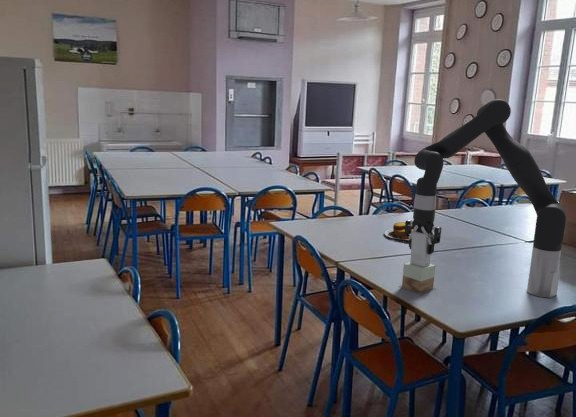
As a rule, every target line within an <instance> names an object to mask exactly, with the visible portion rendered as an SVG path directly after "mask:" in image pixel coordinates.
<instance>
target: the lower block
mask: <svg viewBox="0 0 576 417" xmlns="http://www.w3.org/2000/svg"><path fill="white" fill-rule="evenodd" d="M401 280H402V281H401V282H402V283H401V286H402V287H403V288H406V289H409V290H412V291H415V292H418V293H423V292H425V291H428V290H431V289H433V288H434V282H435V276H434V277H433V278H430V279H427V280H424V281H418V280H415V279H412V278H409V277H406V276H403V275H402V279H401ZM403 288H402V289H403Z"/></svg>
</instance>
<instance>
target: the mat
mask: <svg viewBox="0 0 576 417" xmlns="http://www.w3.org/2000/svg"><path fill="white" fill-rule="evenodd" d="M398 288H400V289H402V290H403V289H404V290H406V291H408V292H412V293H415V294H417V295H419V296H422V295H425V294H427V293H430V292H433V291H435V290H437V288H436V287H433V289H431V290H428V291H425V292H423V293H418V292H415V291H412V290H409V289H406V288H403V287H402V285H399V286H398Z"/></svg>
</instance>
